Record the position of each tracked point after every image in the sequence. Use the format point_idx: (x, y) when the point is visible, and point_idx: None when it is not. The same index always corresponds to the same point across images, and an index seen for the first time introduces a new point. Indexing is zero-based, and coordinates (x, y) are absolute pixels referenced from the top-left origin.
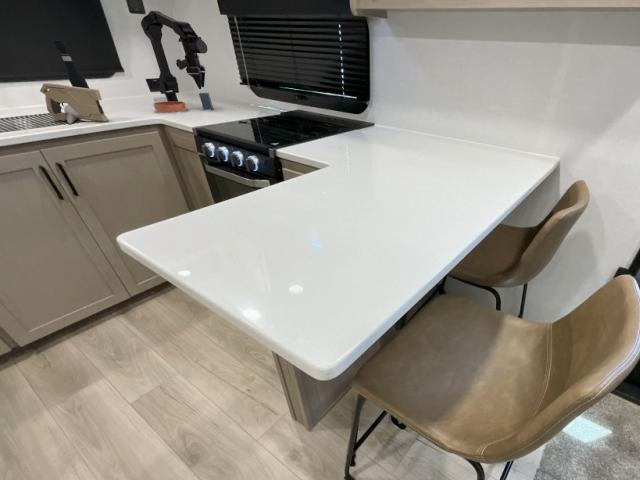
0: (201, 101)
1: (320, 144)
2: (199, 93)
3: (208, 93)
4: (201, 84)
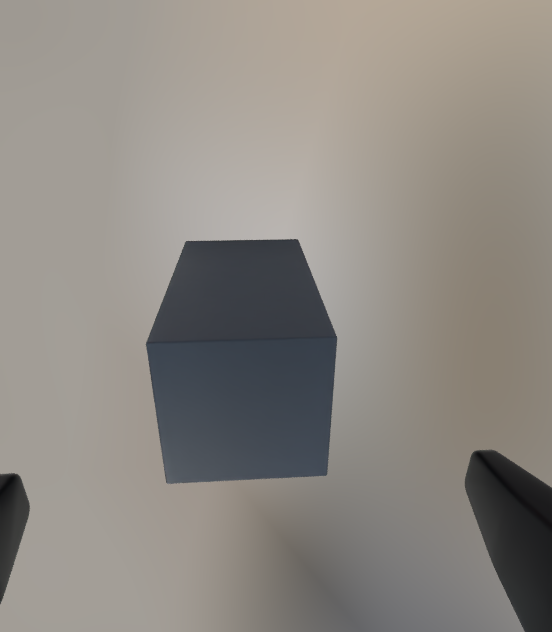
0: (171, 285)
1: None
2: (189, 349)
3: (277, 472)
4: (509, 509)
